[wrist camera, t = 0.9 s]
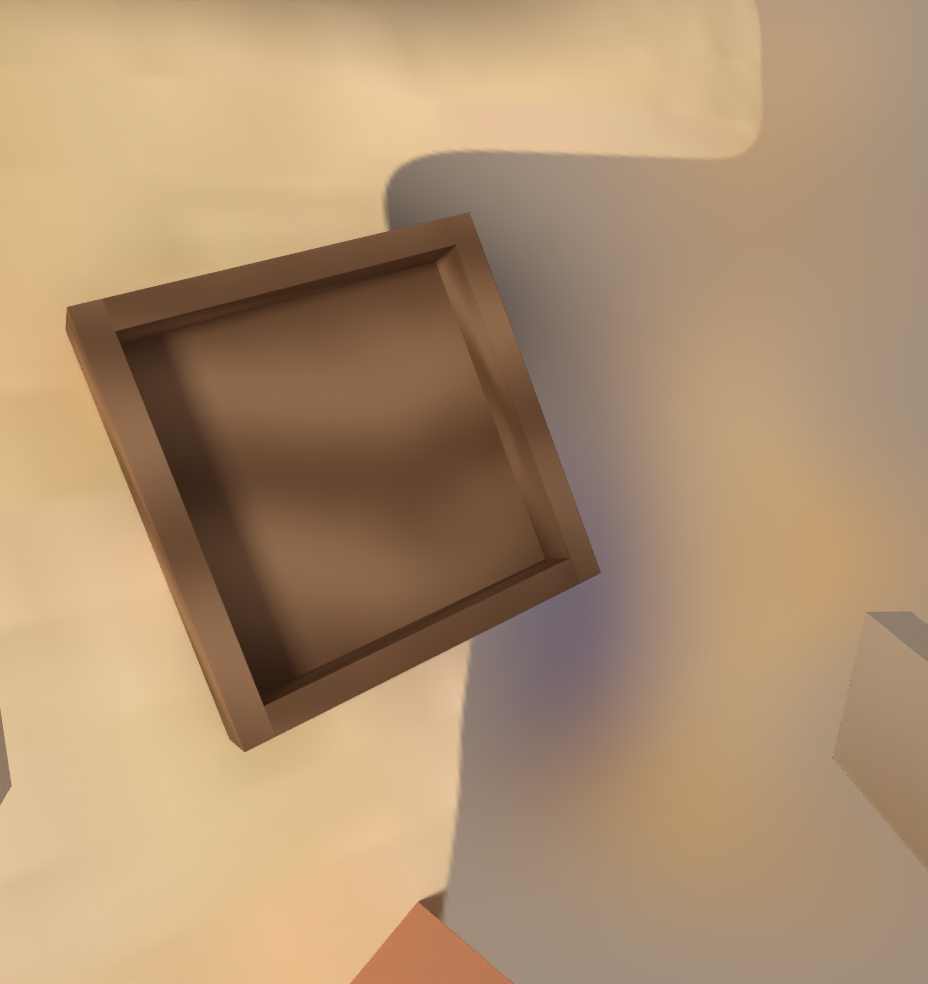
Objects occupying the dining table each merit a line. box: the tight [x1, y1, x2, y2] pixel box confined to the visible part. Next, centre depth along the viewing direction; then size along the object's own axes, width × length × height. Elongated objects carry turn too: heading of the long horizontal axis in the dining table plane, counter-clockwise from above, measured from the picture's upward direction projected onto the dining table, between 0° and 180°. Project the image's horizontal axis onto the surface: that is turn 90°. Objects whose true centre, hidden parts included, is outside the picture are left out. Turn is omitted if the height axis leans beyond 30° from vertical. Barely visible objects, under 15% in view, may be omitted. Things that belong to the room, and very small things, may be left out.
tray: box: [66, 212, 600, 752], centre depth 29 cm, size 14×14×2 cm
